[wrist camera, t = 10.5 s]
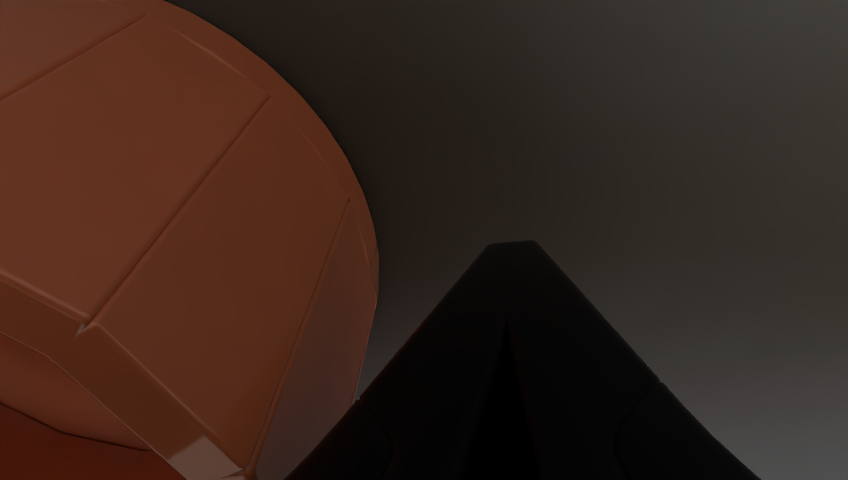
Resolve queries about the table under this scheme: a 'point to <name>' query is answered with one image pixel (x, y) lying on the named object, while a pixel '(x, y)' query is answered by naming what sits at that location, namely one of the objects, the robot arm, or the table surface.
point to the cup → (169, 252)
